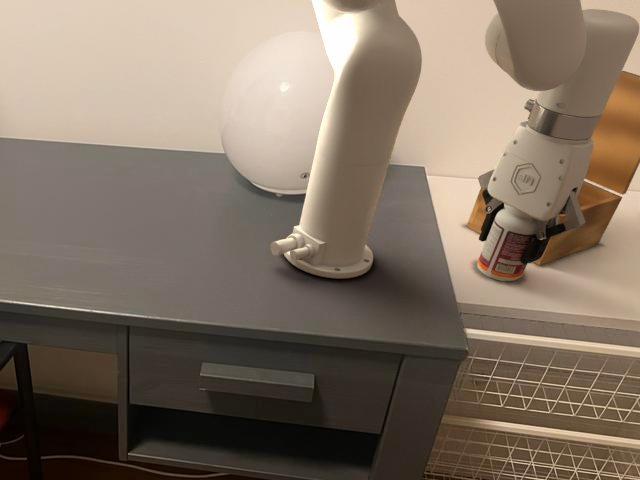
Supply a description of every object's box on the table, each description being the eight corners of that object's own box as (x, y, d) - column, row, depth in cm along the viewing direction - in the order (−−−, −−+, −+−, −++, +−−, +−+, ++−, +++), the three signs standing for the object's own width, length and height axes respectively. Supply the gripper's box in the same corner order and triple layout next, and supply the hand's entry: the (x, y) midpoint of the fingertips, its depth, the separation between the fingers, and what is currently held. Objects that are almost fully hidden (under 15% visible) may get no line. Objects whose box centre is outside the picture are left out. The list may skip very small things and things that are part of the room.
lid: (670, 89, 98) (695, 79, 100) (580, 60, 106) (605, 52, 108) (622, 195, 108) (645, 184, 110) (543, 161, 117) (566, 152, 118)
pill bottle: (530, 276, 105) (564, 202, 97) (503, 287, 102) (537, 211, 95) (492, 256, 108) (523, 184, 101) (466, 266, 106) (495, 193, 99)
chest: (539, 265, 107) (562, 216, 102) (466, 226, 116) (483, 179, 111) (598, 244, 113) (622, 197, 108) (524, 208, 122) (544, 163, 117)
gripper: (485, 103, 96) (440, 228, 107) (609, 151, 84) (544, 286, 96) (521, 96, 99) (474, 218, 110) (646, 141, 88) (579, 273, 99)
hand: (507, 248), depth 103 cm, fingers closed on pill bottle, 6 cm apart
